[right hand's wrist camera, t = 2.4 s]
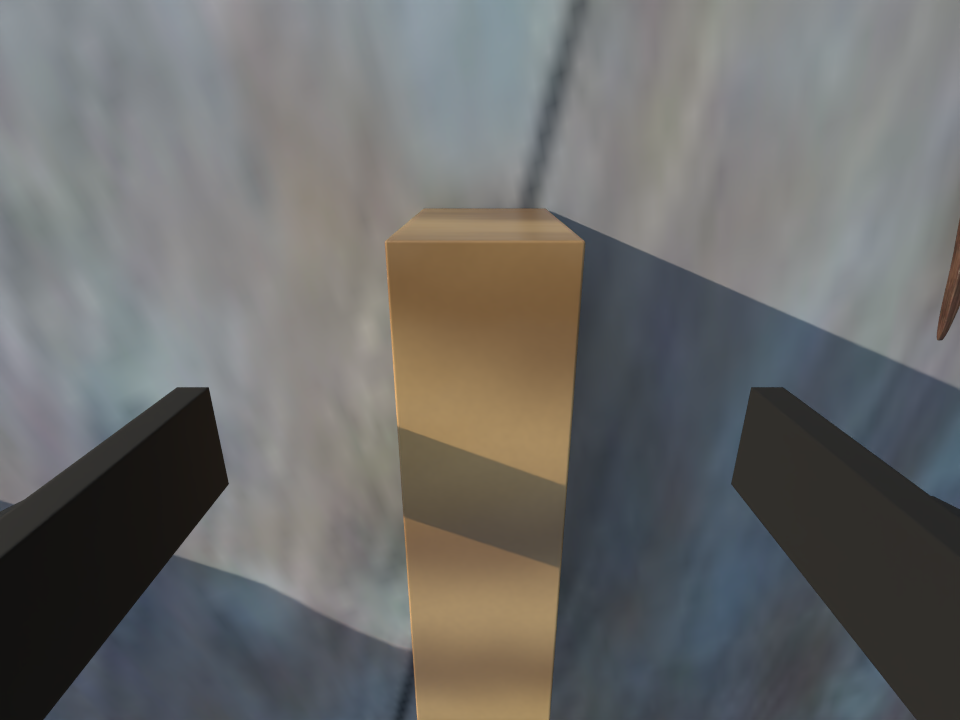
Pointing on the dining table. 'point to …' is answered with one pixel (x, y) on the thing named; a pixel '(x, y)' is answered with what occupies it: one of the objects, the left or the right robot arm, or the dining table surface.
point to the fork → (951, 293)
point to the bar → (484, 449)
